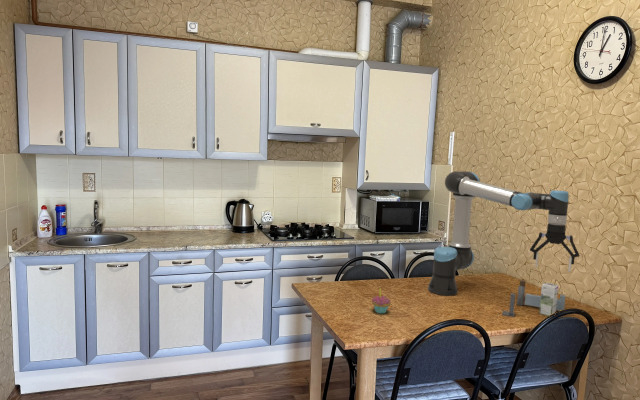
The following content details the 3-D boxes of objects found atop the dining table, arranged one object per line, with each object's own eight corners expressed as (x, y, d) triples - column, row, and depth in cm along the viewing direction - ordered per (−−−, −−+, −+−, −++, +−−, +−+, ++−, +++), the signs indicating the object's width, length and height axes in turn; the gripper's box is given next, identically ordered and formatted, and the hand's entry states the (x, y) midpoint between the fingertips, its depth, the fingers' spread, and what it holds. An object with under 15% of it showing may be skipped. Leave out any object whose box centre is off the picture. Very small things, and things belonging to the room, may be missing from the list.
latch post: (502, 314, 199) (504, 293, 198) (503, 311, 203) (504, 291, 202) (513, 317, 196) (515, 296, 195) (514, 313, 201) (516, 293, 200)
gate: (516, 304, 213) (518, 287, 213) (516, 302, 216) (518, 285, 215) (563, 313, 204) (565, 294, 203) (563, 311, 207) (565, 293, 206)
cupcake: (385, 316, 189) (386, 290, 188) (367, 312, 194) (369, 286, 193) (392, 311, 197) (394, 285, 195) (375, 306, 201) (377, 282, 200)
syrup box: (555, 314, 203) (558, 284, 201) (551, 317, 198) (554, 287, 197) (542, 311, 207) (545, 281, 205) (538, 313, 202) (541, 284, 201)
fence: (517, 303, 217) (519, 285, 216) (518, 296, 228) (520, 279, 227) (523, 304, 216) (524, 286, 215) (524, 297, 227) (525, 280, 226)
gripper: (526, 221, 200) (522, 266, 202) (589, 227, 189) (584, 274, 191) (527, 220, 207) (523, 263, 209) (587, 225, 196) (582, 271, 198)
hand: (552, 268), depth 200 cm, fingers open, 13 cm apart
